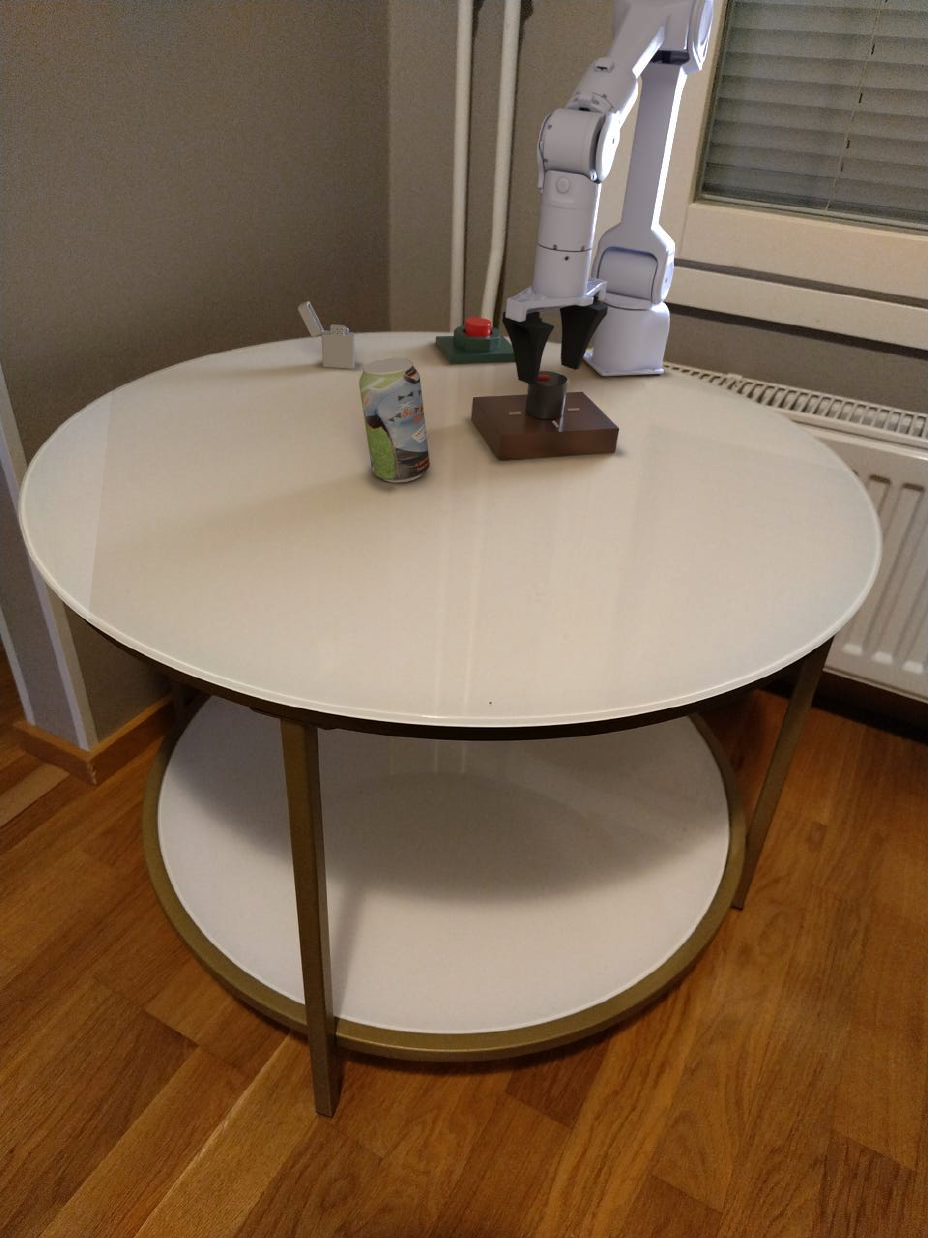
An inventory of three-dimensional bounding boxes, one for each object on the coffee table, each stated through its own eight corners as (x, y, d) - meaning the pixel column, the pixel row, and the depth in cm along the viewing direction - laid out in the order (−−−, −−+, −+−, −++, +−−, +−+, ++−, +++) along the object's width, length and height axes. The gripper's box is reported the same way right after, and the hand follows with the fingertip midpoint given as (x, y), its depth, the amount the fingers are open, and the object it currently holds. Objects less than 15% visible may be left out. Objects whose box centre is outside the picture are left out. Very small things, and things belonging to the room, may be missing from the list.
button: (485, 329, 123) (486, 317, 122) (493, 337, 120) (494, 325, 119) (461, 330, 122) (462, 317, 121) (468, 338, 119) (469, 325, 118)
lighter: (355, 364, 116) (354, 303, 111) (353, 368, 114) (352, 307, 110) (302, 360, 116) (299, 299, 111) (300, 364, 115) (297, 303, 110)
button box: (500, 342, 127) (502, 321, 125) (518, 361, 121) (520, 339, 119) (435, 344, 124) (436, 323, 123) (449, 363, 118) (450, 342, 117)
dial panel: (579, 414, 107) (582, 389, 105) (615, 452, 98) (619, 426, 96) (470, 420, 103) (472, 395, 101) (498, 460, 95) (501, 434, 93)
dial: (555, 403, 101) (560, 367, 99) (569, 418, 98) (574, 381, 95) (520, 405, 100) (523, 368, 97) (532, 420, 97) (537, 383, 94)
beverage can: (421, 493, 87) (425, 378, 80) (352, 483, 88) (349, 368, 81) (435, 467, 92) (440, 357, 85) (369, 457, 93) (369, 347, 86)
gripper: (549, 263, 82) (534, 400, 90) (637, 244, 90) (615, 370, 98) (495, 247, 85) (484, 380, 93) (584, 230, 94) (567, 353, 102)
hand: (548, 374), depth 96 cm, fingers open, 7 cm apart
